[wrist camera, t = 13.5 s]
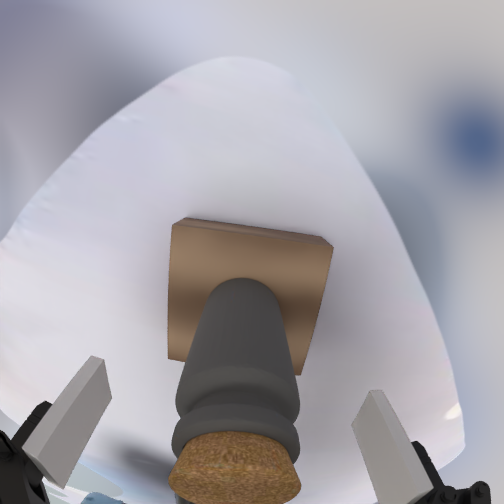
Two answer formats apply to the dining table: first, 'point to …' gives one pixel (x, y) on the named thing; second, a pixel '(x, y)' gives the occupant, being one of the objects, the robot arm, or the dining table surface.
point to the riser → (245, 266)
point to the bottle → (237, 403)
